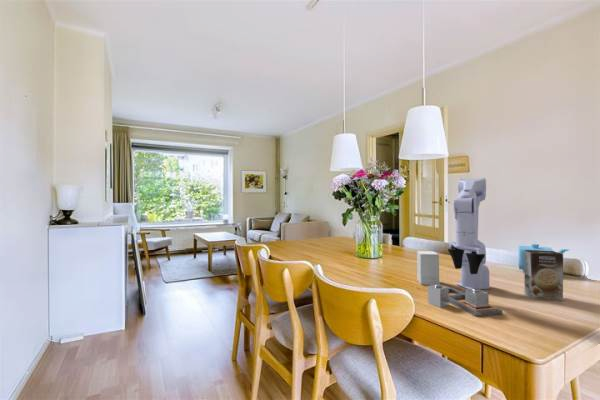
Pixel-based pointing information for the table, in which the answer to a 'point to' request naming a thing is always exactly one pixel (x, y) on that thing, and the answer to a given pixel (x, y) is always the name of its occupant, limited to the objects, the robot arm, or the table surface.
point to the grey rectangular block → (477, 298)
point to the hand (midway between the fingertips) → (465, 271)
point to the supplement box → (427, 267)
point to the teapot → (533, 247)
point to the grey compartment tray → (469, 309)
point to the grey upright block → (438, 295)
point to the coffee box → (543, 275)
